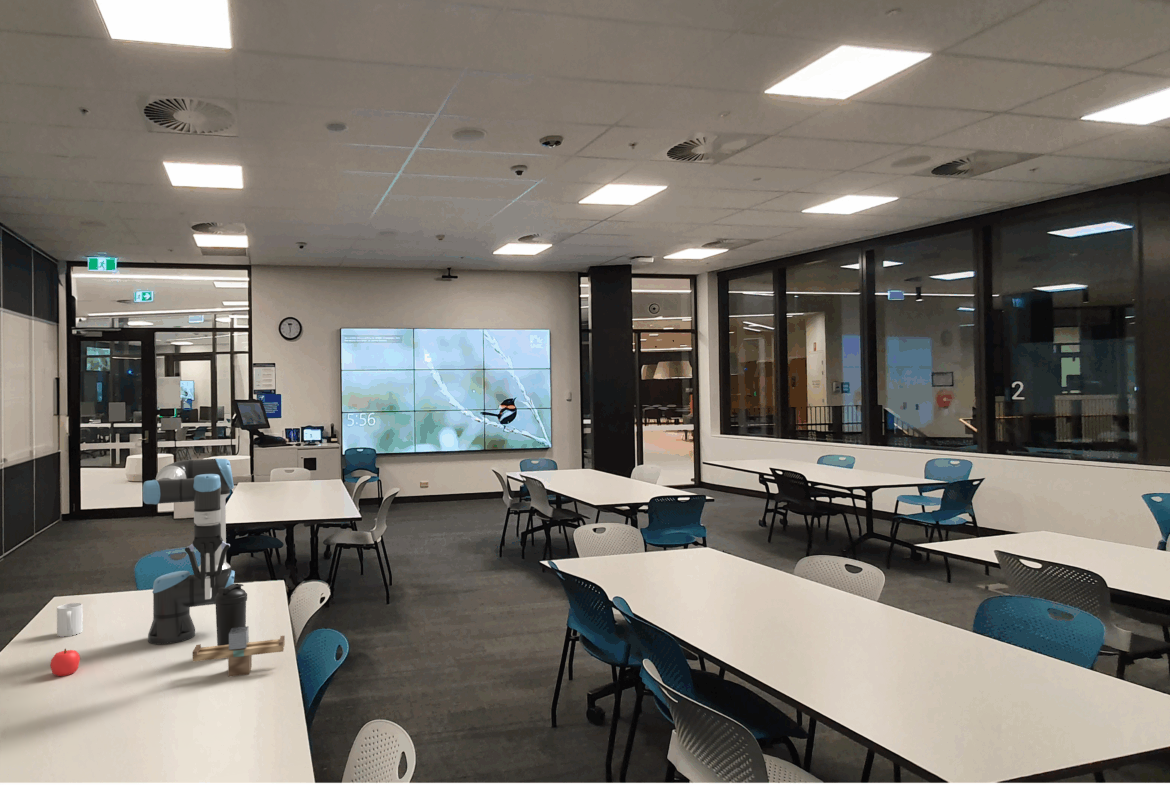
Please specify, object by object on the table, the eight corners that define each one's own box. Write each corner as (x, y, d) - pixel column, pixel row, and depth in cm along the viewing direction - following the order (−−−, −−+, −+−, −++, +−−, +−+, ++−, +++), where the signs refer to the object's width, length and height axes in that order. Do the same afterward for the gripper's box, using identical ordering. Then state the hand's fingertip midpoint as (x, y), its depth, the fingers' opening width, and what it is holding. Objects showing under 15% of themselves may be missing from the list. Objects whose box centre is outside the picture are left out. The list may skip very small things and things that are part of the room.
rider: (229, 656, 233) (228, 633, 233) (231, 649, 239) (231, 628, 239) (246, 654, 234) (246, 632, 235) (248, 647, 241) (248, 626, 241)
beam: (192, 681, 229) (192, 652, 229) (196, 672, 236) (196, 644, 236) (283, 670, 237) (283, 642, 237) (284, 662, 244) (284, 635, 244)
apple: (77, 667, 243) (77, 642, 243) (83, 673, 237) (82, 648, 237) (47, 673, 237) (47, 648, 237) (52, 680, 231) (52, 654, 231)
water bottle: (254, 650, 257) (253, 584, 257) (229, 660, 247) (228, 591, 248) (233, 646, 261) (233, 581, 261) (208, 656, 252) (207, 588, 252)
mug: (57, 632, 279) (57, 605, 279) (83, 629, 283) (82, 601, 283) (55, 641, 269) (55, 612, 269) (81, 637, 273) (81, 609, 273)
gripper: (182, 527, 229) (182, 603, 229) (228, 524, 233) (229, 599, 233) (186, 522, 236) (187, 596, 236) (231, 520, 240) (232, 593, 240)
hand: (208, 598), depth 234 cm, fingers closed
